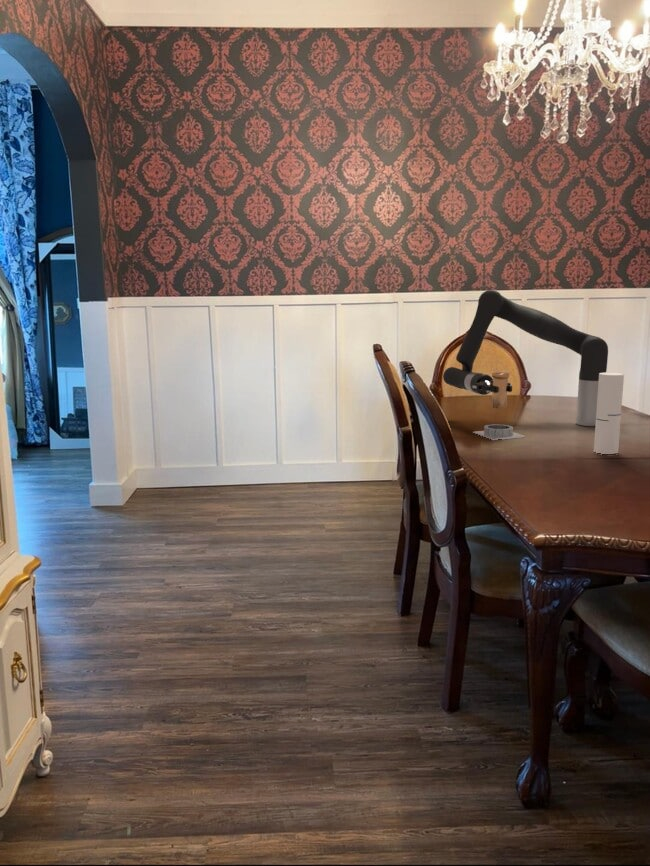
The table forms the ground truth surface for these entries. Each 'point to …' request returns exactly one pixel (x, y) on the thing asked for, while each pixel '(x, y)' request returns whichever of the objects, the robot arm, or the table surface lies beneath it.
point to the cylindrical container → (608, 413)
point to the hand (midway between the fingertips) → (504, 389)
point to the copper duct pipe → (500, 389)
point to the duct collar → (498, 432)
